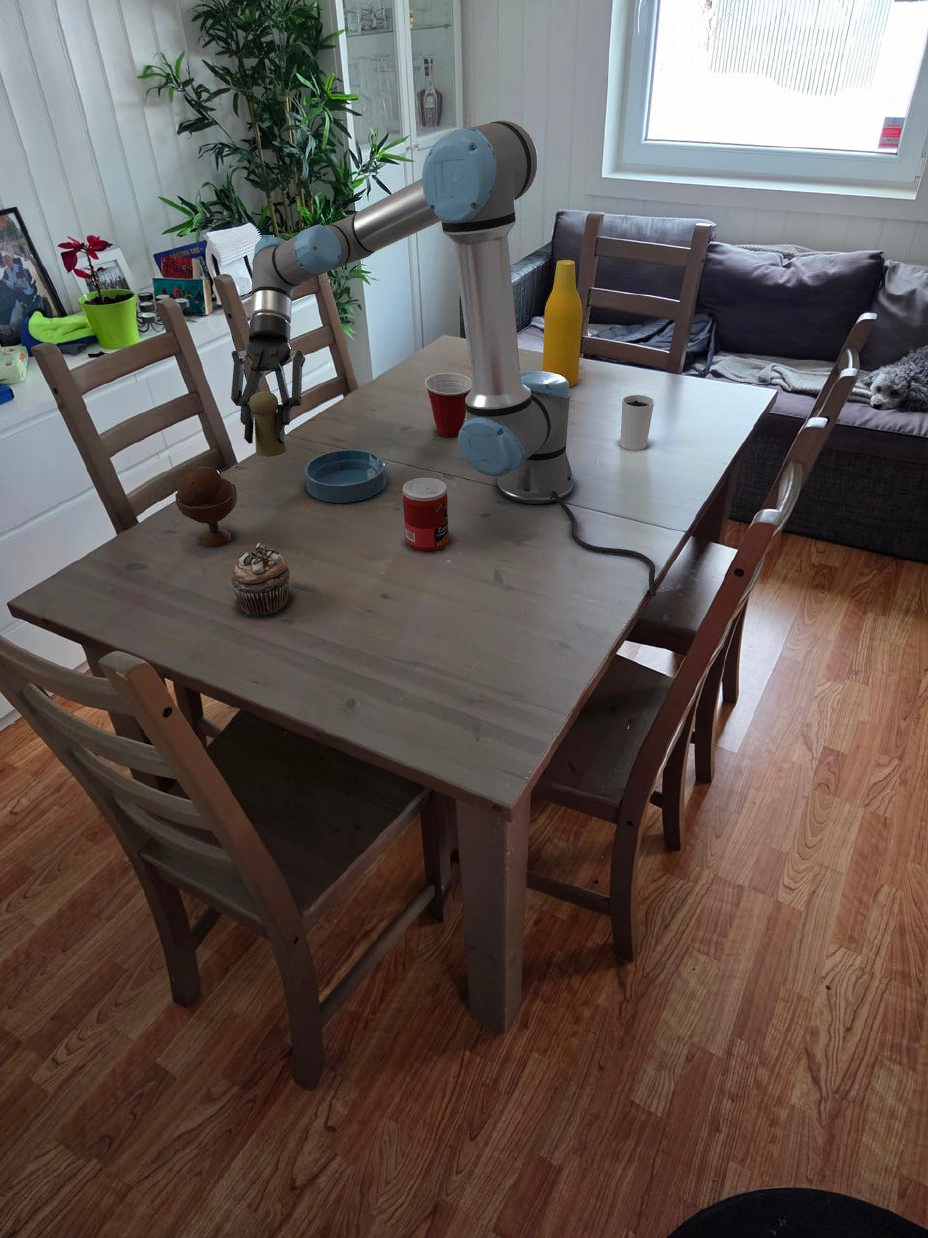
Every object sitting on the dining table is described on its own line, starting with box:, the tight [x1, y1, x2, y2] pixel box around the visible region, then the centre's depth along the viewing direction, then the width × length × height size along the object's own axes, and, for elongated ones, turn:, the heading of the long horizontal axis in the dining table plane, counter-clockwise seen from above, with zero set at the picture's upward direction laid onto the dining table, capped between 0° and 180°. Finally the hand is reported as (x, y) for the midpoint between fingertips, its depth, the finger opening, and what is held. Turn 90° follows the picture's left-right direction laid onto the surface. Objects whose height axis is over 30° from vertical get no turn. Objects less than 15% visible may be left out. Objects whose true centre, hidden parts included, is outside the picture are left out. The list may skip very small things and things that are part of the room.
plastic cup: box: [424, 372, 472, 438], centre depth 187 cm, size 11×11×12 cm
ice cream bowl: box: [174, 465, 238, 547], centre depth 151 cm, size 11×11×15 cm
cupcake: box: [229, 542, 290, 617], centre depth 136 cm, size 10×10×10 cm
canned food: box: [402, 477, 450, 552], centre depth 150 cm, size 8×8×11 cm
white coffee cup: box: [619, 394, 655, 451], centre depth 181 cm, size 7×7×10 cm
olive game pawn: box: [249, 391, 289, 458], centre depth 156 cm, size 6×6×11 cm
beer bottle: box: [541, 259, 583, 388], centre depth 205 cm, size 9×9×29 cm
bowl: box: [303, 448, 387, 504], centre depth 171 cm, size 16×16×4 cm
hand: (264, 440), depth 154 cm, fingers closed on olive game pawn, 5 cm apart
